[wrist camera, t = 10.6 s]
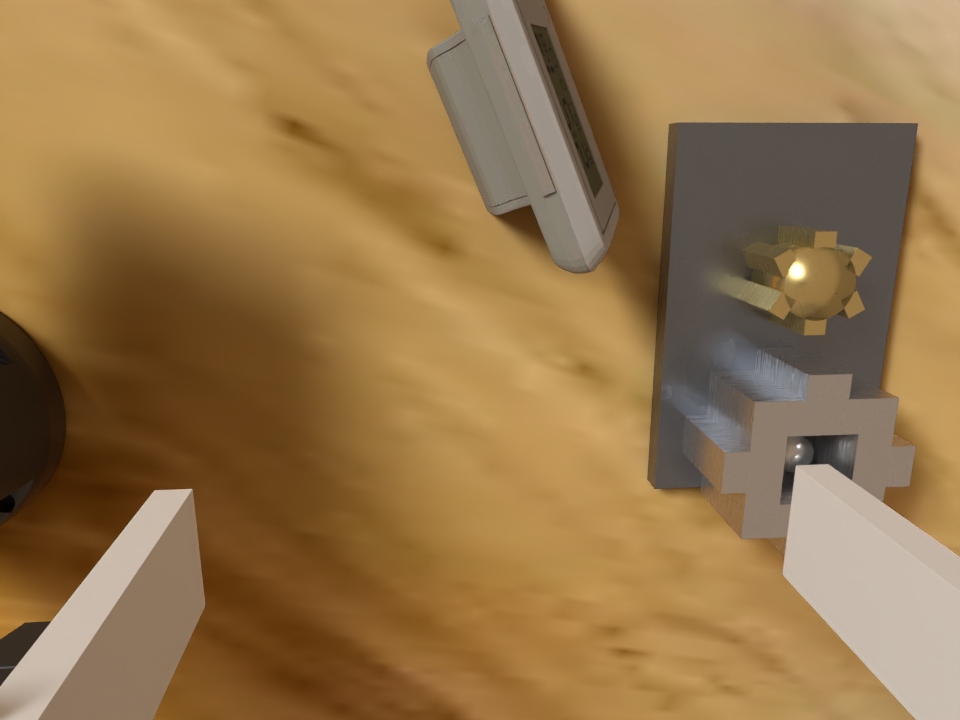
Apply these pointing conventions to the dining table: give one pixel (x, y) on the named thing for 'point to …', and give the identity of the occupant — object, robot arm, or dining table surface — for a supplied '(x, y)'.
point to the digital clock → (526, 126)
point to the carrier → (772, 261)
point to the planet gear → (790, 412)
